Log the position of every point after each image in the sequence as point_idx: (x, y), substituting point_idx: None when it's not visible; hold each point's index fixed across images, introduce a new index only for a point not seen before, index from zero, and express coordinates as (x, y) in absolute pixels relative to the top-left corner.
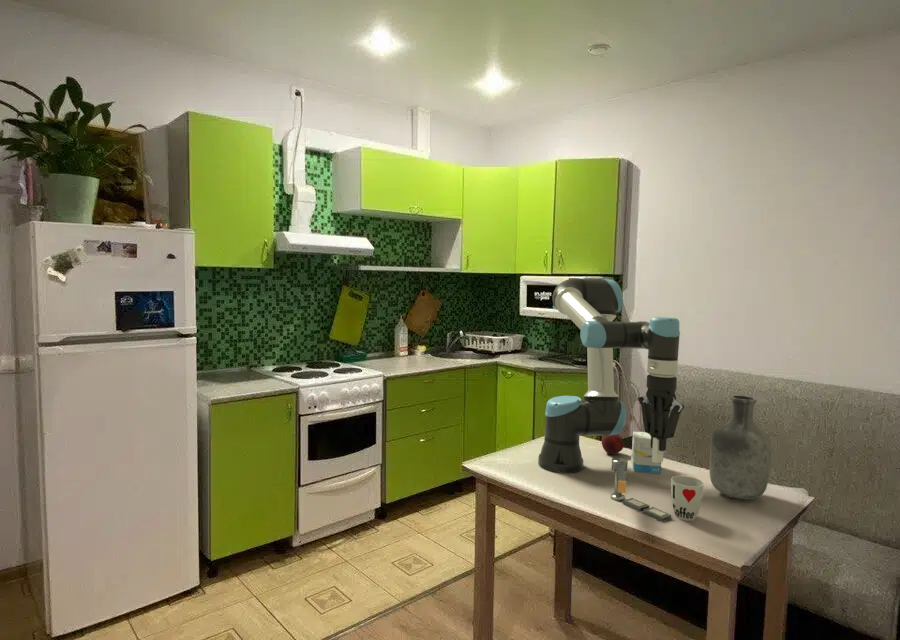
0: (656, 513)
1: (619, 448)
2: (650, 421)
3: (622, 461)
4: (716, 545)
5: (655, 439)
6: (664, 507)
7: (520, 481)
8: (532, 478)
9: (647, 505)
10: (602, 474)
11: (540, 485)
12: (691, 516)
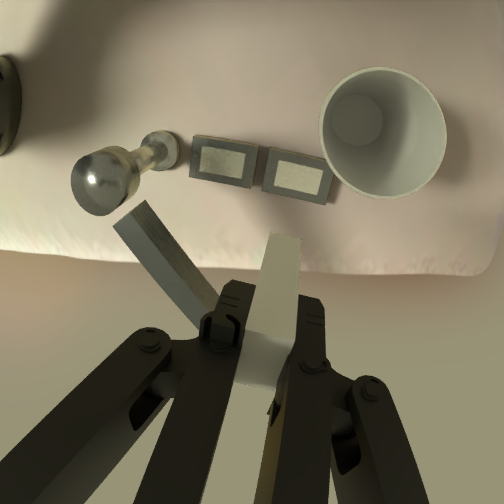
0: (301, 188)
1: None
2: (119, 430)
3: (107, 190)
4: (454, 231)
5: (256, 382)
6: (283, 96)
7: (26, 245)
8: (19, 216)
9: (253, 152)
10: (53, 50)
11: (45, 233)
12: (385, 142)
